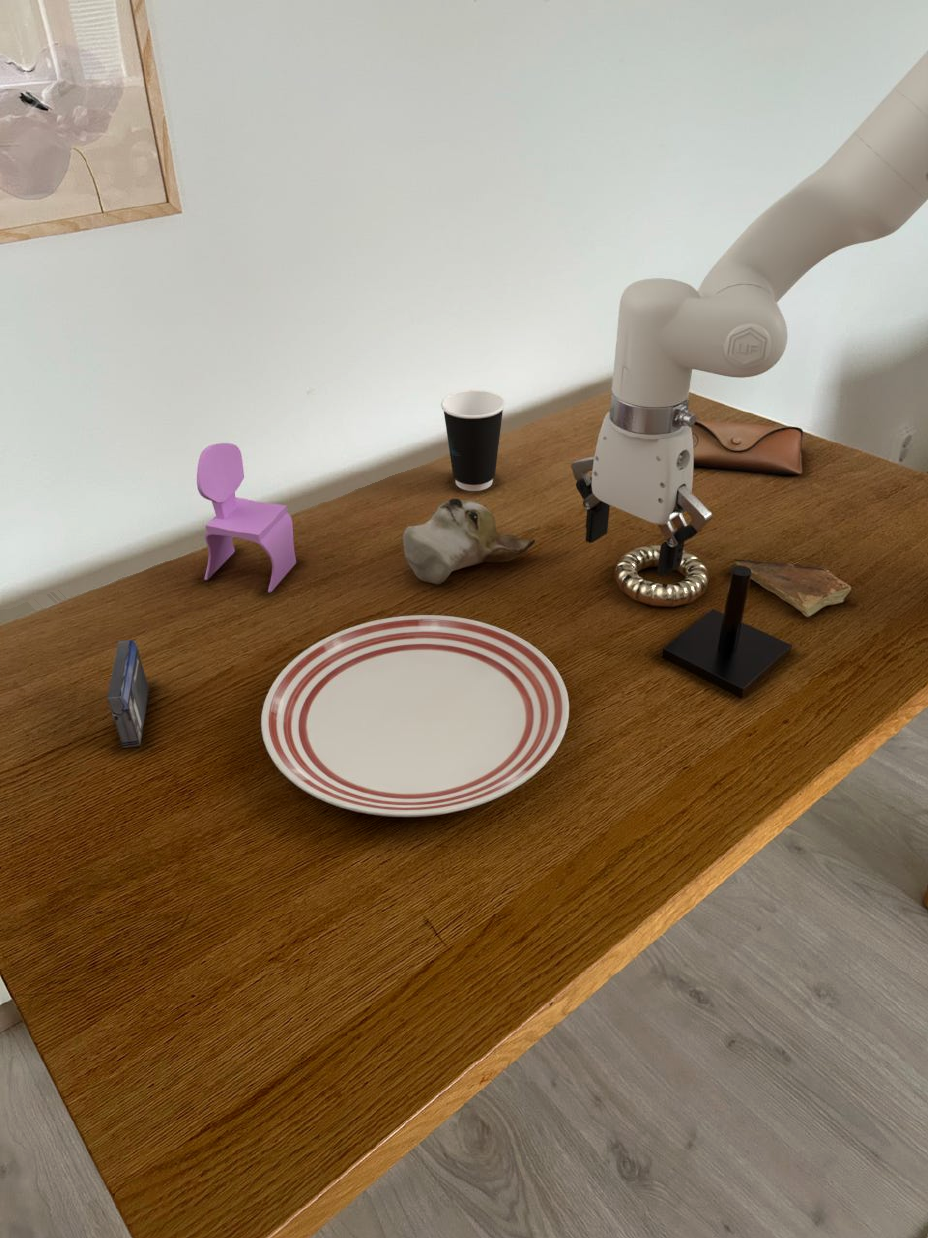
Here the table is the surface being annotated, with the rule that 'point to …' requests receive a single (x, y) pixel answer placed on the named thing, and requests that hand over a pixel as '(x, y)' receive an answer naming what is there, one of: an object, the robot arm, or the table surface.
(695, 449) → the sunglasses case
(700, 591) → the ribbed metal ring
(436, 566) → the ceramic sculpture
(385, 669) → the dinner plate
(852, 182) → the robot arm
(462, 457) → the dixie cup
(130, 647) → the mini dv tape
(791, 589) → the shard
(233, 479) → the toy chair
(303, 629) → the table surface
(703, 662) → the stand
